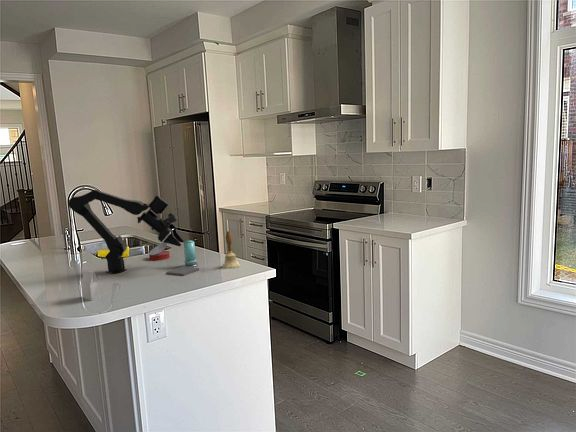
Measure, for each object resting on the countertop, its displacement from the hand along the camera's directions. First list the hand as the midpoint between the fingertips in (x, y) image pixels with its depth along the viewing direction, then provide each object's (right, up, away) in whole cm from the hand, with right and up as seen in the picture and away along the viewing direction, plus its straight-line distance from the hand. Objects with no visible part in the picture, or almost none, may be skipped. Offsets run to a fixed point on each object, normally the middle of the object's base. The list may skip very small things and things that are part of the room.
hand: (181, 243), depth 202 cm
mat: (+3, -12, -9) cm, 15 cm away
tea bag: (-23, -18, -40) cm, 49 cm away
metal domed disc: (+4, -10, +2) cm, 11 cm away
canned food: (-16, -9, +22) cm, 29 cm away
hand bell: (+23, -10, -3) cm, 25 cm away
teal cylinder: (+4, -8, +2) cm, 9 cm away
